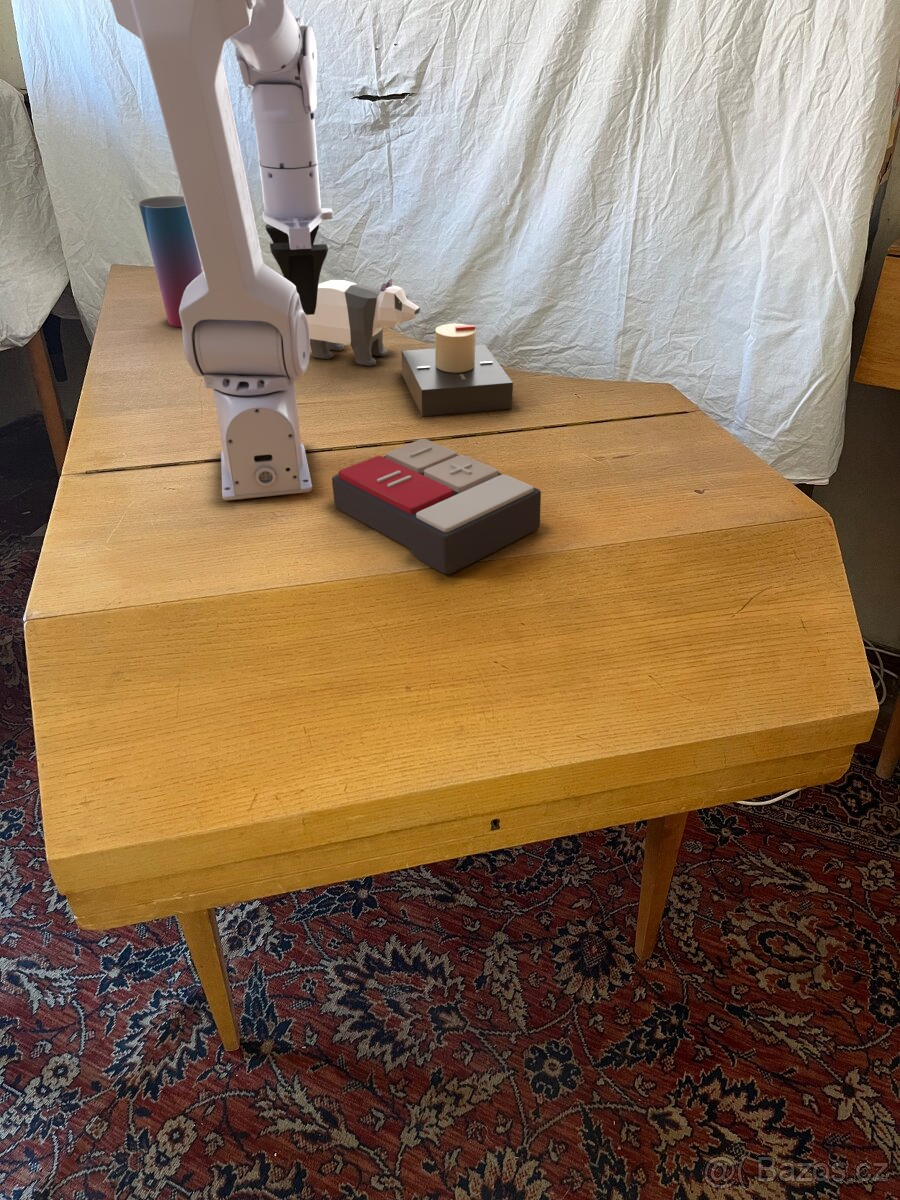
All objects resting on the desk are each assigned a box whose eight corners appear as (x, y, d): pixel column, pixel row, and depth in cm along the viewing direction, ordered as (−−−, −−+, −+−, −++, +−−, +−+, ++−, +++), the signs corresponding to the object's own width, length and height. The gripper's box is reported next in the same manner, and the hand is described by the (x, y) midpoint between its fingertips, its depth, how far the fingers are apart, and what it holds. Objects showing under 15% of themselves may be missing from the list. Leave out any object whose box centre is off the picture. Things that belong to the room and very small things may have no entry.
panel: (511, 409, 94) (513, 381, 92) (421, 416, 92) (421, 388, 90) (484, 369, 103) (484, 343, 101) (402, 375, 101) (401, 349, 99)
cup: (160, 315, 118) (138, 197, 109) (211, 311, 120) (193, 194, 111) (162, 331, 113) (139, 208, 104) (215, 327, 114) (197, 205, 106)
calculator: (423, 432, 80) (543, 482, 71) (425, 474, 82) (542, 527, 73) (328, 468, 74) (445, 528, 65) (333, 513, 76) (447, 576, 67)
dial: (440, 374, 93) (440, 335, 91) (431, 359, 97) (431, 321, 94) (479, 371, 94) (480, 332, 92) (469, 357, 98) (470, 319, 95)
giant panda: (301, 357, 106) (293, 277, 100) (322, 342, 110) (315, 265, 104) (411, 373, 102) (409, 291, 96) (428, 357, 106) (427, 278, 100)
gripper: (337, 176, 80) (346, 321, 88) (321, 150, 91) (330, 281, 99) (260, 178, 78) (277, 326, 87) (254, 152, 90) (269, 285, 98)
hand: (301, 303), depth 93 cm, fingers open, 7 cm apart
